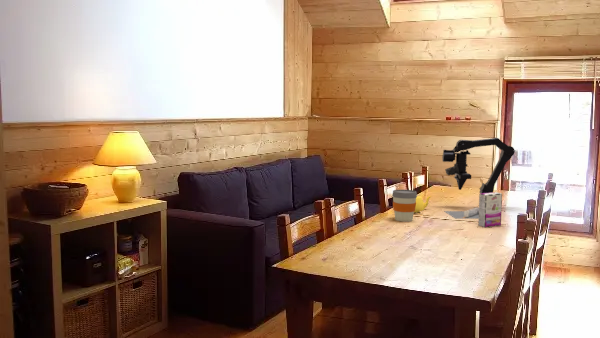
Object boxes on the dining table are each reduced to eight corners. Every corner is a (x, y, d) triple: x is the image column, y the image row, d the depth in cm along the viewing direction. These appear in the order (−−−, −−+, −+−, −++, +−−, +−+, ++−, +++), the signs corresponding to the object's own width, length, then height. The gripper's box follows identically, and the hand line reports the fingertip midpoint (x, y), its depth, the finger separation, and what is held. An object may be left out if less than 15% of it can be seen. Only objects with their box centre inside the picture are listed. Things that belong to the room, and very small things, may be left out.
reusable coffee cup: (400, 216, 309) (401, 188, 308) (420, 220, 300) (421, 191, 299) (386, 219, 301) (387, 191, 299) (406, 223, 292) (407, 194, 290)
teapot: (431, 212, 321) (432, 195, 320) (413, 214, 314) (414, 196, 313) (414, 208, 333) (415, 191, 332) (396, 210, 326) (397, 193, 325)
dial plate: (479, 213, 319) (479, 211, 319) (493, 221, 299) (493, 218, 299) (443, 213, 318) (443, 211, 318) (455, 221, 298) (455, 218, 298)
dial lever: (475, 211, 316) (475, 206, 316) (484, 212, 313) (484, 207, 313) (461, 216, 302) (461, 210, 302) (470, 217, 299) (470, 212, 299)
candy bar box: (493, 223, 294) (495, 191, 292) (501, 225, 289) (503, 193, 287) (477, 225, 289) (478, 193, 287) (484, 227, 284) (486, 194, 282)
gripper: (442, 160, 334) (440, 187, 336) (452, 163, 316) (451, 192, 317) (461, 160, 335) (459, 187, 337) (472, 164, 316) (470, 192, 318)
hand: (459, 189), depth 327 cm, fingers closed
